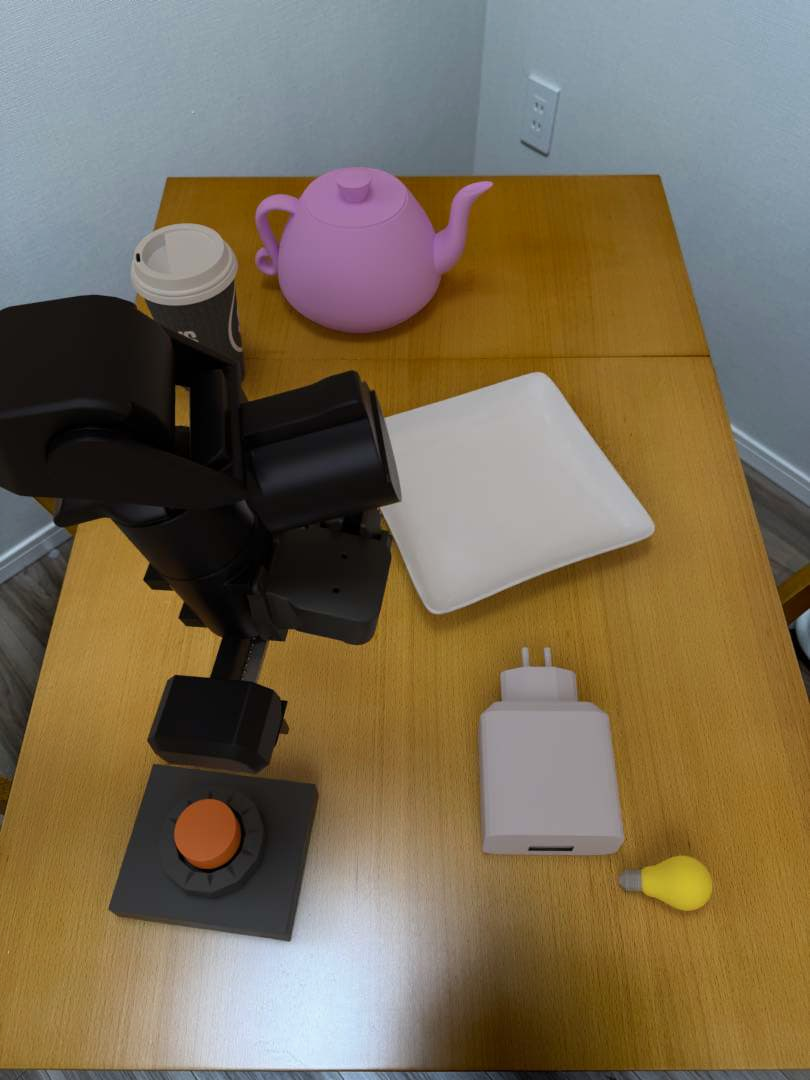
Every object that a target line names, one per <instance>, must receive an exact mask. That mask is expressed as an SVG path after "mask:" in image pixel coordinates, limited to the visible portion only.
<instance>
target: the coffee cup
mask: <svg viewBox="0 0 810 1080" xmlns="http://www.w3.org/2000/svg"><path fill="white" fill-rule="evenodd" d="M238 262H239V261H238V257H237V256H236V254H235V252H234V250H233V249H232V247H231V246H230V245H229V244H228V242H227V241H225V240H224V239H223V238H222V236H221V235H220V234H219V233H218V232H217V231H215V229H213V228H211V227H208V226H206V225H203V224H198V223H189V222H188V223H186V222H185V223H176V224H175V223H174V224H169V225H167V226H162V227H160V228H158V229H155V230H154V231H152V232H150V233H148V234H147V235H145V236H144V237H143V238H142V239H141V240H139V242H138V244H137V245H136V247H135V249H134V252H133V259H132V261H131V266H130V283H131V285H132V287H133V289H134V291H135V292H136V293H137V294H138V295H139V296H141V297H142V298H143V299H144V301H145V304H146V306H147V309H148V311H149V313H150V315H151V317H152V319H153V320H155V321H156V322H157V323H159V324H161V325H163V326H165V327H167V328H169V329H171V330H174V331H176V332H178V333H180V334H182V335H184V336H186V337H188V338H191V339H193V340H195V341H197V342H200V343H202V344H203V345H205V346H208V347H210V348H212V349H214V350H216V351H218V352H220V353H222V354H225V355H227V356H229V357H231V358H233V359H235V360H237V361H238V362H239V363H240V370H241V383H243V381H244V379H245V375H246V368H245V359H244V350H243V341H242V333H241V325H240V316H239V307H238V300H237V289H236V281H235V278H236V275H237V273H238V270H239V263H238ZM184 389H185V390H186V391H187V392H188V393H189V387H184Z"/></svg>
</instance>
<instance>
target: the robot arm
mask: <svg viewBox="0 0 810 1080" xmlns="http://www.w3.org/2000/svg"><path fill="white" fill-rule="evenodd" d="M176 386H177V387H189V392H188V397H189V399H188V400H189V402H188V403H189V404H188V405H189V408H188V410H189V413H188V414H189V425H181V424H180V425H179V424H178V425H176ZM384 418H385V417H384V413H383V410H382V407H381V404H380V400H379V398H378V394H377V393H376V390H375V389H371V388H370V387H369V384H368V383H367V381H366V380H364V381H362V380H361V376H360V373H359V372H358V370H357V371H356V370H355V369H354V370H353V369H350V370H346V371H343V372H340V373H335V374H332V375H329V376H327V377H324V378H322V379H320V380H318V381H315V382H314V383H311V384H309V385H305V386H301V387H297V388H294V389H290V390H287V391H283V392H279V393H276V394H271V395H268V396H265V397H260V398H256V399H254V400H249V399H248V396H247V395H246V393H245V391H244V390H243V387H242V382H241V370H240V363H239V362H238V361H237V360H235V359H233V358H231V357H229V356H227V355H225V354H222V353H220V352H218V351H216V350H214V349H212V348H210V347H208V346H205V345H203V344H202V343H200V342H197V341H195V340H193V339H191V338H188V337H186V336H184V335H182V334H180V333H178V332H176V331H174V330H171V329H169V328H167V327H165V326H163V325H161V324H159V323H157V322H156V321H155V320H154V319H153V317H152V318H151V317H150V316H148V314H146V313H144V312H143V311H141V310H139V308H138V306H137V305H136V303H135V302H133V301H131V300H128V299H123V298H121V297H118V296H111V295H103V294H84V295H83V294H82V295H74V296H68V297H62V298H56V299H55V298H54V299H48V300H43V301H35V302H29V303H23V304H16V305H10V306H6V307H4V308H2V309H0V488H2V489H4V490H6V491H8V492H10V493H11V494H14V495H17V496H20V497H29V498H46V499H51V498H52V499H54V505H53V516H52V523H53V524H54V525H55V526H56V527H58V528H70V527H73V526H77V525H81V524H84V523H89V522H93V521H96V520H101V519H110V520H111V521H112V522H113V523H114V525H115V526H116V527H117V528H118V529H119V530H120V532H121V533H123V535H124V536H125V537H126V538H127V539H128V540H129V542H130V543H131V544H132V545H133V546H134V547H135V548H136V549H137V551H138V552H139V553H140V554H141V555H142V556H143V557H144V558H145V560H146V561H147V562H148V565H147V568H146V570H145V573H144V576H143V578H142V581H143V582H144V583H145V584H146V585H147V586H148V587H149V588H150V589H151V590H152V591H167V592H174V593H176V594H177V596H178V597H179V598H180V599H181V601H182V602H183V603H182V606H181V609H180V612H179V614H178V617H177V618H178V620H179V621H180V622H181V623H182V624H183V625H184V626H185V627H190V628H203V629H208V630H209V631H210V632H211V633H212V634H214V635H216V636H217V637H220V638H221V640H220V643H219V646H218V650H217V653H216V656H215V660H214V662H213V665H212V668H211V672H210V675H209V677H207V676H195V675H183V674H173V675H172V676H171V677H170V678H168V679H167V680H166V682H165V685H164V689H163V691H162V694H161V697H160V700H159V703H158V705H157V709H156V712H155V715H154V718H153V720H152V724H151V726H150V729H149V733H148V735H147V738H146V742H147V743H148V744H149V747H150V748H151V751H152V752H153V753H154V754H155V755H156V756H157V757H158V758H160V759H161V760H163V761H164V762H166V763H167V765H168V764H169V765H175V766H176V765H177V766H183V767H184V766H185V767H194V768H200V769H210V770H217V771H227V772H235V773H243V774H251V775H252V774H253V775H258V774H259V773H260V772H262V771H263V770H265V769H266V768H267V767H269V766H270V764H271V760H272V756H273V753H274V749H275V748H276V746H277V744H278V741H279V738H280V735H289V732H290V726H289V724H288V722H287V720H286V719H285V715H286V711H287V707H288V703H289V701H288V700H286V699H285V700H284V699H282V698H281V696H280V695H279V694H278V692H276V690H275V689H273V688H270V687H268V686H265V685H262V684H259V679H260V676H261V672H262V669H263V666H264V661H265V659H266V655H267V652H268V649H269V648H268V647H269V644H270V642H281V643H282V642H283V643H285V642H286V640H287V637H288V633H289V630H295V631H296V632H300V633H303V634H308V635H313V636H317V637H321V638H326V639H331V640H336V641H341V642H343V643H344V644H347V645H352V646H362V645H366V644H368V643H369V642H370V641H371V640H372V639H373V638H374V637H375V633H376V630H377V626H378V621H379V618H380V614H381V610H382V606H383V602H384V597H385V592H386V588H387V587H386V586H387V583H388V578H389V574H390V569H391V564H392V558H393V556H392V547H393V541H394V537H393V535H392V533H390V530H385V529H382V526H381V525H382V520H383V515H382V513H380V512H381V511H379V509H380V508H379V507H383V506H387V505H391V504H395V503H398V502H401V501H402V495H401V487H400V481H399V476H398V471H397V466H396V462H395V458H394V453H393V449H392V445H391V441H390V438H389V434H388V430H387V427H386V423H385V420H384Z"/></svg>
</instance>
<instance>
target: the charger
mask: <svg viewBox="0 0 810 1080" xmlns="http://www.w3.org/2000/svg"><path fill="white" fill-rule="evenodd" d="M543 657H544V666H530V665H531V664H530V652H529V648H528V647H527V646H523V647H522V648H521V661H522V666H520V667H516V668H511V669H506V670H503V671H501V672H500V673H499V675H500V692H501V694H500V695H501V701H494V702H493V703H491V705H490V706H489V707H487V708H486V709H485V710H484V711H483V712H482V713H481V714H479V721H478V727H477V728H478V729H477V738H478V739H477V741H478V742H477V743H478V744H477V747H478V770H479V772H478V773H479V774H478V775H479V798H480V799H479V800H480V801H479V802H480V825H481V826H480V827H481V829H480V830H481V851H482V852H483V853H486V854H493V855H519V856H521V855H523V856H524V855H525V856H526V855H527V856H607V855H612V854H616V853H617V852H618V850H619V849H620V847H621V846H622V844H623V843H624V841H625V832H624V831H625V830H624V824H623V817H622V809H621V808H622V807H621V800H620V792H619V786H618V778H617V769H616V762H615V756H614V755H615V754H614V747H613V738H612V730H611V724H610V716H609V714H608V713H607V712H605V711H604V710H603V709H601V708H600V707H599V706H597V705H596V704H595V703H594V702H590V701H579V696H578V695H579V694H578V683H577V676H576V672H574V671H572V670H569V669H565V668H562V667H558V666H553V660H552V649H551V648H550V647H548V646H546V647H544V648H543Z"/></svg>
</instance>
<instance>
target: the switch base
mask: <svg viewBox="0 0 810 1080" xmlns="http://www.w3.org/2000/svg"><path fill="white" fill-rule="evenodd" d="M319 795H320V794H319V791H318V787H317V785H316V784H315V783H308V782H300V781H294V780H285V779H277V778H271V777H270V778H269V777H261V776H253V775H247V774H239V773H230V772H222V771H214V770H208V769H201V768H200V769H199V768H190V767H184V766H176V765H168V764H162V763H161V764H159V763H153V764H152V766H151V769H150V773H149V776H148V779H147V782H146V785H145V789H144V791H143V795H142V798H141V800H140V801H141V802H140V805H139V808H138V812H137V814H136V818H135V821H134V823H133V827H132V831H131V834H130V837H129V840H128V843H127V846H126V850H125V853H124V856H123V860H122V862H121V867H120V869H119V872H118V875H117V879H116V882H115V885H114V888H113V892H112V895H111V897H110V901H109V905H108V908H107V910H108V911H110V912H111V913H112V914H114V915H115V916H117V917H118V918H124V919H125V918H126V919H131V920H139V921H146V922H152V923H159V924H166V925H173V926H181V927H188V928H195V929H201V930H207V931H214V932H222V933H227V934H228V933H229V934H235V935H243V936H248V937H257V938H262V939H263V938H264V939H270V940H277V941H284V942H291V940H292V935H293V930H294V924H295V921H296V920H295V919H296V915H297V910H298V903H299V899H300V894H301V889H302V883H303V877H304V874H305V873H304V872H305V868H306V863H307V858H308V852H309V847H310V842H311V836H312V832H313V826H314V821H315V817H316V816H315V815H316V811H317V806H318V800H319ZM204 799H215V800H219V801H221V802H223V803H225V804H226V805H227V806H228V807H229V808H230V809H231V810H232V812H233V814H234V815H235V817H236V819H237V820H238V822H239V825H240V828H241V841H240V845H239V847H238V850H237V851H236V853H235V854H234V856H233V857H232V858H231V859H230V860H229V861H228V862H226V863H225V864H223V865H221V866H219V867H217V868H213V869H202V868H198V867H196V866H194V865H192V864H191V863H190V862H189V861H188V860H187V859H186V858H185V857H184V856H183V855H182V853H181V852H180V851H179V849H178V848H177V846H176V843H175V838H174V831H175V825H176V823H177V820H178V818H179V816H180V815H181V813H182V812H183V811H184V810H185V809H186V808H187V807H188V806H190V805H191V804H193V803H195V802H197V801H200V800H204Z"/></svg>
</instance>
